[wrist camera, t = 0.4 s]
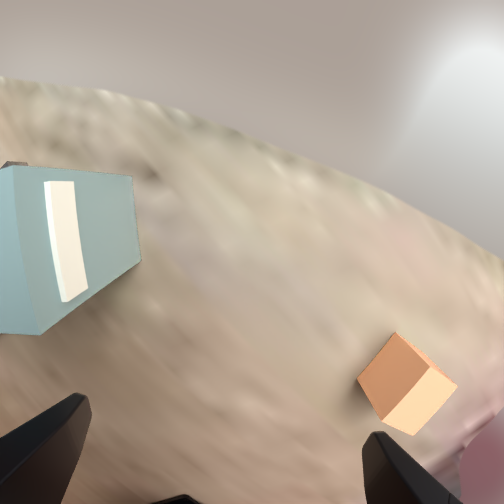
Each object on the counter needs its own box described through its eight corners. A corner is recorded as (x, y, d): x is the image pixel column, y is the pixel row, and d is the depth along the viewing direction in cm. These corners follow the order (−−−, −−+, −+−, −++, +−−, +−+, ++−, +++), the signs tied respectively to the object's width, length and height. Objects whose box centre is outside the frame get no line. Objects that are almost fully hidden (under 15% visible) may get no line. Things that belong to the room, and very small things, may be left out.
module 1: (145, 260, 22) (46, 335, 9) (82, 265, 22) (-36, 329, 9) (135, 175, 21) (18, 163, 8) (72, 186, 21) (-60, 192, 8)
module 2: (386, 395, 25) (413, 435, 19) (356, 378, 24) (381, 421, 19) (422, 352, 24) (457, 386, 18) (395, 331, 24) (430, 366, 18)
